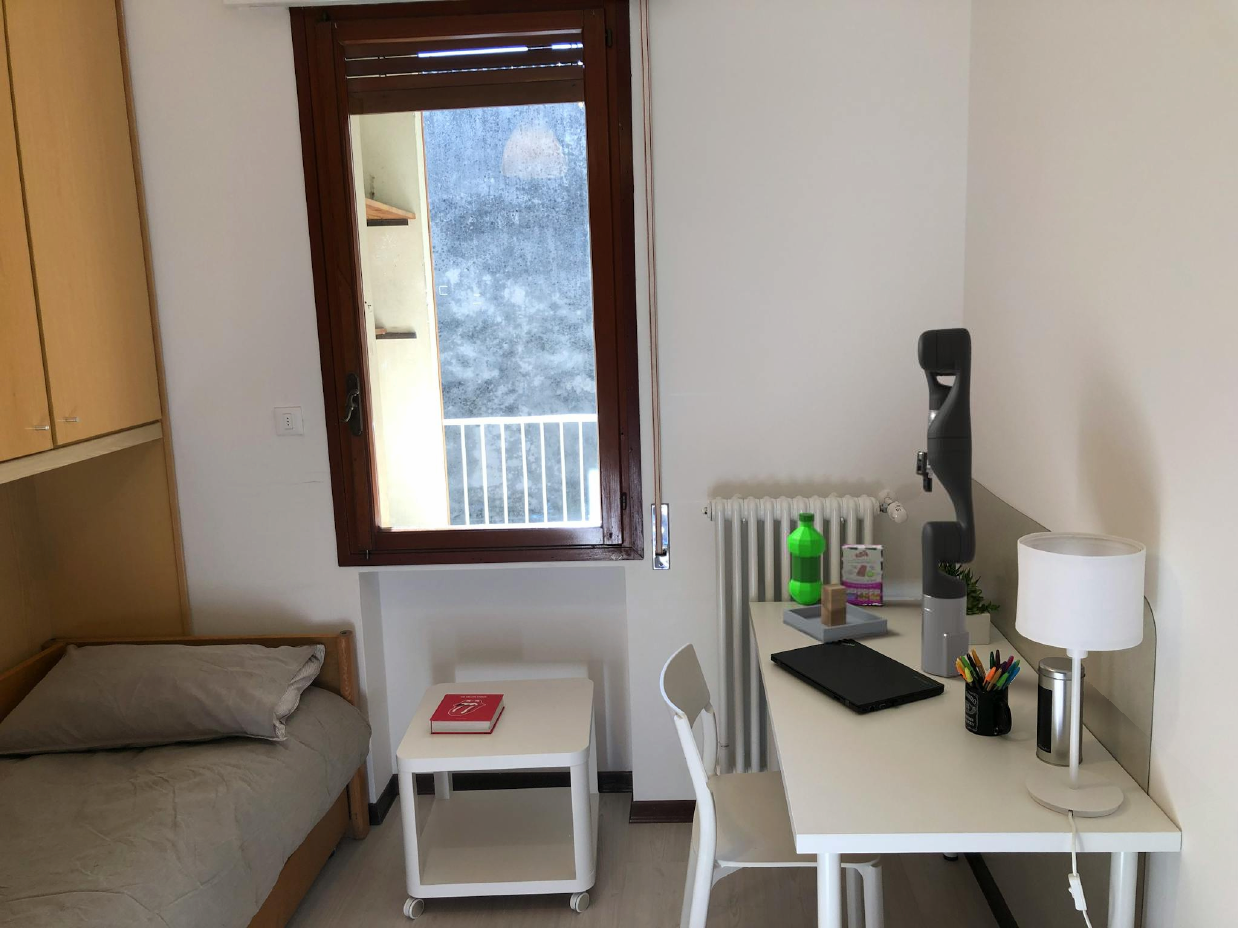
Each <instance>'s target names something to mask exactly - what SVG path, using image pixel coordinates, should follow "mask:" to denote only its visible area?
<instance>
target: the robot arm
mask: <svg viewBox="0 0 1238 928" xmlns="http://www.w3.org/2000/svg"><path fill="white" fill-rule="evenodd" d="M969 331H970V330H968V329H967V328H965V327H955V328H953V327H952V328H939V329H928V330H925V331H923V332H922V333H921V334H920V335H919V338H918V340H917V359H918V360H917V361H918V364H919V366H920V368H921V369H922V370H923V371H924V375H925V378H926V382H927V387H928V415H927V432H926V451H921V450H920V451H918V452H916V453H917V455H916V469H915V473H916V475H917V476H921V477H922V488H923V489H922V490H923V491H924V492H925V493H932V492H933V475H935V477H936V478H937V480H938V481H939V482H940V483H941V485H942V486H943V488H944V490H945V491H946V493H947V495H948V496H949V498H950V501H951V502H952V504H953V508H954V512H955V518H956V520H953V521H952V520H950V521H949V520H946V521H945V520H941V521H940V520H938V521H937V520H933V521H931V520H930V521H926V522H925V523H924V525H923V526H922V531H921V539H920V540H921V560H922V561H921V563H922V564H921V565H922V566H921V567H922V573H921V575H922V576H921V578H922V581H921V582H922V594H921V631H920V634H921V639H920V641H921V643H920V651H921V652H920V668H921V670H922V671H924V672H926V673H927V674H931V675H935V676H941V677H943V678H951V677H955V676H961V675H960V674H959V672H958V670H957V667H956V661H957V658H959V657H960V656H965V655H967V654H968V655H969V649H970V648H969V647H970V646H969V644H970V633H969V631H968V630H966V629H967V597H968V596H967V595H968V593H967V592H968V586H967V583H966V582H965V581H964V580H963V579H962V578H960V577H957V576H953V575H950V574H948V573H945V572H944V571H943V570H941V568H940V564H943V565H944V564H948V565H950V564H951V565H952V564H953V565H954V564H956V565H959V564H960V565H961V564H962V565H965V564H970V563H972V562H973V561H974V558H975V555H976V550H977V549H976V547H977V542H976V541H977V539H976V528H975V526H976V525H975V517H974V516H975V515H974V514H975V513H974V503H973V485H972V484H973V483H972V482H973V479H972V474H973V471H972V470H973V469H972V465H973V440H972V439H973V438H972V437H973V436H972V434H973V433H972V418H971V373H972V338H971V334H970V332H969ZM937 377H954V381H953V383H952V385H949V384H944V383H941V382H940V381H939V379H938V378H937Z"/></svg>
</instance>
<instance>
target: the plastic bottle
mask: <svg viewBox="0 0 1238 928" xmlns="http://www.w3.org/2000/svg"><path fill="white" fill-rule="evenodd" d="M798 521H799V522H800V526H798V528H796V529H795V530H794V531H793V532H792V533H791V534H790V535H789V536H788V538H787V540H786V541H787V543H786V544H787V549H788V551H789V552H790V553H791V580H790V581H789V583H788V592H789V593H790V595H791V597H792V598H793V599H794V600H795V601H796V602H797V603H798V604H802V605H813V604H815V603H817V601H819V600H820V599H821V585H824V583H823V582H822V580H821V579H822V578H821V577H822V576H821V575H822V554H823V553H824V552H825V550H826V545H827V544H826V539H825V537H824V536H823V534H821V533H820V532H819V530H817V529H816V528H815V527H814V526H813V522H815V514H814V513H812V512H801V513H800V512H799V513H798Z"/></svg>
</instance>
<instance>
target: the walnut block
mask: <svg viewBox="0 0 1238 928" xmlns="http://www.w3.org/2000/svg"><path fill="white" fill-rule="evenodd" d="M846 597H847V588H846V587H844V586H842V584H840V583H839V584H838V583H831V584H823V585H821V598H820V599H821V601H820V602H821V603H820V605H821V624H824V625H826V626H828V627H834V626H840V625H846Z"/></svg>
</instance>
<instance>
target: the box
mask: <svg viewBox="0 0 1238 928" xmlns="http://www.w3.org/2000/svg"><path fill="white" fill-rule="evenodd" d="M782 610H783V611H782V613H783V615H782V617H783V618H782V620H783V621H782V623H783V624H785V625H787V626H788V627H791V628H793V629H794V630H796V631H799V632H800V633H803V634H804V635H807V636H808V637H811V638H812V639H814V640H816V641H817V642H820V643H822V644H826V642H828V643H833V642H832V641H834V642H838V640H841V639H847V640H851V639H852V640H854V639H858V638H864V637H871V636H872V637H873V636H877V635H885V634H884V633H886V634H888V619H887V618H885V617H882V616H879V615H877V614H874V613H872V612H870V611H867V610H866V609H863V608H861V607H858V606H857V605H851V604H849V603H846V625H840V626H834V627H828V626H826V625H824V624H821V604H815V605H807V606H801V607H800V606H799V607H793V608H786V609H785V608H784V609H782ZM841 641H842V640H841Z"/></svg>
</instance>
